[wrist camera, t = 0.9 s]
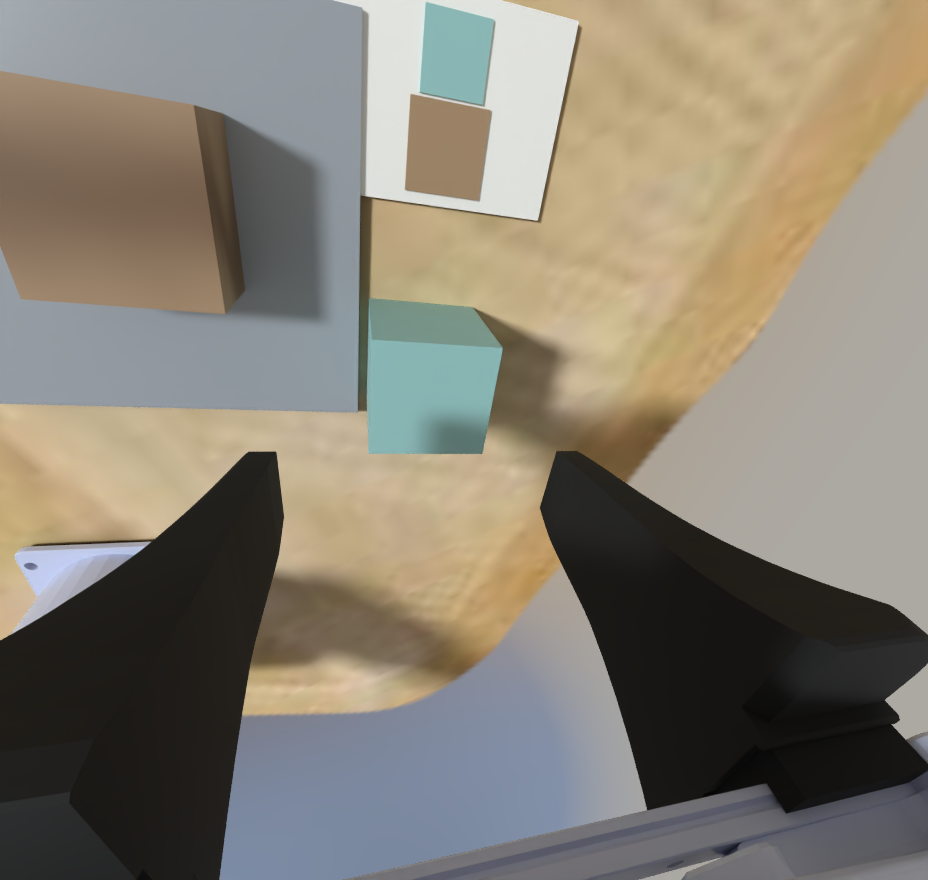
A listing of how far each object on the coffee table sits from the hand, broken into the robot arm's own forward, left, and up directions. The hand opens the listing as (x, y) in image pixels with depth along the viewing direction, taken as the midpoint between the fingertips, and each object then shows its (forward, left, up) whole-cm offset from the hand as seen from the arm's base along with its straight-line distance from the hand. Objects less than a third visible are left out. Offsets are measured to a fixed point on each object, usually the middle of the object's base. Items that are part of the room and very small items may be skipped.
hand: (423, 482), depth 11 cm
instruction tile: (+9, -1, -10) cm, 13 cm away
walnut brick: (+5, +9, -10) cm, 14 cm away
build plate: (+4, +9, -10) cm, 14 cm away
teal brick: (0, -1, -10) cm, 10 cm away
